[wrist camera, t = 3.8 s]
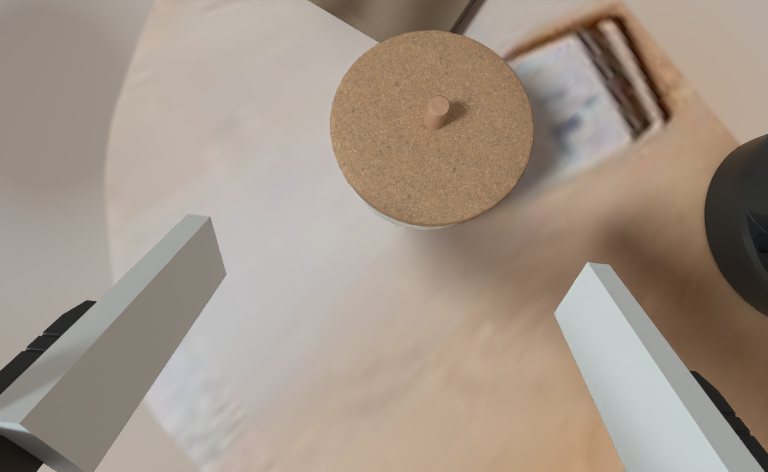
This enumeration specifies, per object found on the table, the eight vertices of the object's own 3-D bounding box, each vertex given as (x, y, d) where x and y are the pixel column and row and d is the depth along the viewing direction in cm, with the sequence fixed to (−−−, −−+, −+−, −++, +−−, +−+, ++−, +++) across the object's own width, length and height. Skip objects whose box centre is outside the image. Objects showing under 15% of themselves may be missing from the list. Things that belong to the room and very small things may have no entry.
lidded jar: (433, 80, 25) (466, -36, 16) (513, 191, 24) (599, 137, 15) (318, 151, 24) (280, 72, 15) (396, 269, 23) (407, 265, 14)
